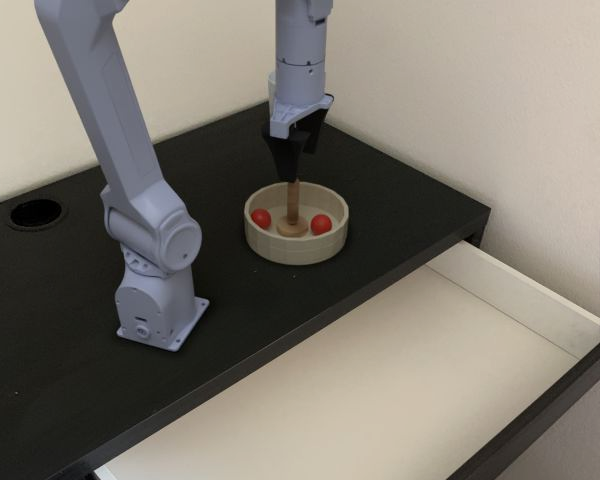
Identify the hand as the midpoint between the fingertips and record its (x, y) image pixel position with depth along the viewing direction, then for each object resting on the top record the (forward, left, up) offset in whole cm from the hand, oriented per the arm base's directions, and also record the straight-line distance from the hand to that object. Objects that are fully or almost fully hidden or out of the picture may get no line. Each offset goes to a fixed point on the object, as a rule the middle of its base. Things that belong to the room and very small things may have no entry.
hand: (297, 166), depth 86 cm
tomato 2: (0, -4, -8) cm, 9 cm away
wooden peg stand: (0, 0, -10) cm, 10 cm away
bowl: (0, 0, -10) cm, 10 cm away
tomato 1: (-2, +5, -8) cm, 10 cm away
